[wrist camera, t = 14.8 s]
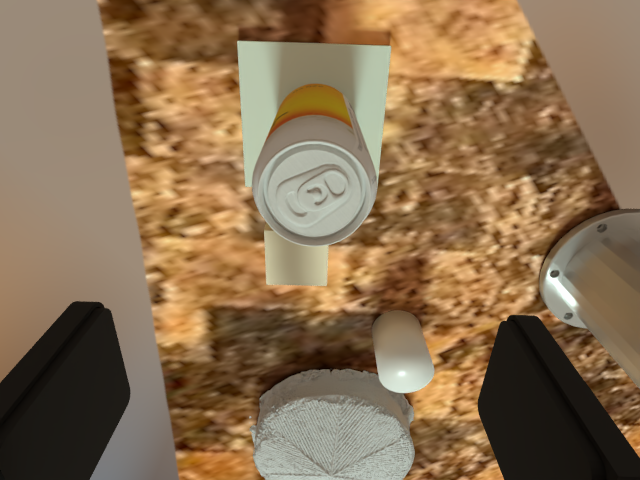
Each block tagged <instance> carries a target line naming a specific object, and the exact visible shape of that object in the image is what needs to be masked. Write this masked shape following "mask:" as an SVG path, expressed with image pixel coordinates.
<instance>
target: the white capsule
mask: <svg viewBox="0 0 640 480" xmlns="http://www.w3.org/2000/svg"><path fill="white" fill-rule="evenodd" d="M372 338H373V344H374V350H375V356H376V363H377V369H378V375H379V380H380V382H381V383H382V385H383V386H384V387H386V388H387V389H389V390H391V391H393V392H398V393H410V392H415V391H418V390H420V389H422V388H424V387H425V386H426V385H427V384H428V383H429V382H430V381H431V380H432V378H433V375H434V366H433V363H432V360H431V357H430V354H429V351H428V348H427V344H426V341H425V338H424V335H423V332H422V329H421V326H420V323H419V321H418V319H417V318H416V317H415V316H414V315H413V314H411V313H409V312H407V311H402V310H394V311H389V312H386V313H384V314H382V315H381V316H379V317H378V318H377V319H376V320H375V322H374V323H373V326H372Z"/></svg>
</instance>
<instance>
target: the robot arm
mask: <svg viewBox="0 0 640 480" xmlns="http://www.w3.org/2000/svg"><path fill="white" fill-rule="evenodd" d="M539 287H540V293H541V296H542V299H543V301H544V303H545V304H546V306H547V307H548V308H549V310H550V311H551V312H552V313H553V314H554V315H555V316H556V317H557V318H558V319H560V320H561V321H563V322H565V323H567V324H570V325H572V326H576V327H581V328H588V329H589V330H590V332H591V333H592V334H593V335H594V336H595V337H596V339H597V340H598V341H599V342H600V343H601V344H602V346H603V347H604V348H605V349H606V350H607V351H608V353H609V354H610V355H611V356H612V357H613V358H614V360H615V361H616V362H617V363H618V364H619V365H620V367H621V368H622V369H623V370H624V371H625V372H626V374H627V375H628V376H629V377H630V378H631V379H632V381H633V382H634V383H635V384H636V385H637V386H638V388H639V389H640V209H621V210H614V211H610V212H606V213H603V214H600V215H597V216H595V217H592V218H590V219H588V220H586V221H584V222H582V223H581V224H579V225H578V226H576V227H575V228H573V229H571V230H570V231H569V232H568V233H567V234H566V235H564V236H563V237H562V238H561V239H560V240H559V241H558V242H557V244H556V245H555V246H554V247H553V248H552V249H551V251H550V253H549V254H548V256H547V258H546V259H545V261H544V264H543V266H542V269H541V273H540V279H539ZM129 399H130V387H129V382H128V379H127V375H126V370H125V366H124V362H123V358H122V354H121V350H120V346H119V342H118V338H117V334H116V330H115V326H114V322H113V318H112V313H111V311H110V310H109V309H107V308H104V305H103V304H102V303H100V302H79V301H76V302H73V303H72V304H70V306H69V307H68V308H67V309H66V310H65V311H64V312H63V313H62V315H61V316H60V317H59V318H58V319H57V320H56V321H55V322H54V323H53V324H52V326H51V327H50V328H49V329H48V330H47V331H46V332H45V333H44V335H43V336H42V337H41V338H40V339H39V340H38V341H37V342H36V344H35V345H34V346H33V347H32V348H31V349H30V350H29V351H28V352H27V354H26V355H25V356H24V357H23V358H22V359H21V360H20V361H19V362H18V364H17V365H16V366H15V367H14V368H13V369H12V370H11V371H10V373H9V374H8V375H7V376H6V377H5V378H4V379H3V380H2V382H1V383H0V480H89V479H90V477H91V475H92V474H93V472H94V470H95V468H96V466H97V464H98V462H99V460H100V458H101V456H102V454H103V452H104V450H105V448H106V446H107V444H108V442H109V440H110V438H111V436H112V435H113V432H114V431H115V428H116V427H117V425H118V423H119V421H120V419H121V417H122V415H123V413H124V411H125V409H126V407H127V405H128V403H129ZM478 412H479V415H480V418H481V421H482V423H483V426H484V429H485V431H486V434H487V436H488V439H489V441H490V444H491V447H492V449H493V452H494V454H495V457H496V459H497V462H498V465H499V467H500V470H501V472H502V475H503V477H504V480H640V458H639V456H638V455H637V454H636V452H635V451H634V449H633V448H632V447H631V445H630V444H629V442H628V441H627V440H626V438H625V437H624V435H623V434H622V433H621V431H620V430H619V428H618V427H617V426H616V424H615V423H614V421H613V420H612V419H611V417H610V416H609V415H608V413H607V412H606V410H605V409H604V408H603V406H602V405H601V403H600V402H599V401H598V399H597V398H596V396H595V395H594V394H593V392H592V391H591V389H590V388H589V387H588V385H587V384H586V382H585V381H584V380H583V379H582V377H581V376H580V375H579V373H578V372H577V370H576V369H575V368H574V366H573V365H572V363H571V362H570V361H569V359H568V358H567V356H566V355H565V354H564V352H563V351H562V349H561V348H560V347H559V345H558V344H557V342H556V341H555V340H554V338H553V337H552V335H551V334H550V333H549V331H548V330H547V328H546V327H545V326H544V324H543V323H542V321H541V320H540V319H539V318H538V317H537V316H528V315H511V316H509V317H508V319H507V321H502V322H501V323H500V325H499V329H498V332H497V336H496V339H495V343H494V346H493V350H492V353H491V357H490V360H489V364H488V367H487V371H486V374H485V378H484V381H483V385H482V388H481V392H480V395H479V399H478Z"/></svg>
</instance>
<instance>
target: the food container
mask: <svg viewBox="0 0 640 480" xmlns="http://www.w3.org/2000/svg"><path fill="white" fill-rule="evenodd" d="M260 399H261V400H259V401H261V402H262V404H261V403H260V406H259V407H260V410H259V411H260V413H259V417H258V422H257V425H256V426H255V425H254V426H251V427H250V431H251V432H252V433H253V435H254V434H255V435H254V436H253V435H252V437H253V441H254V446H255V450H253V458H254V462H255V465H256V468H257V469H258V470H259V472H260V474H261V475H262V476H264V478H266V479H265V480H402V479H403V478H404V477H405V475H406V474H407V472H409V471H408V470H409V469H411V466H412V463H413V462H412V461H413V460H414V459H413V458H414V456H415V455H414V454H415V451H414V446H413V442H412V439H411V436H410V432H409V428H410V426H409V425H410V423H411V421H413V417H414V412H413V407H412V406H411V405H409V403H408V400H407V399H405V396H404V393H398V392H393V391H391V390H389V389H387V388H386V387H384V386H383V385H382V383H381V382H380V380H379V377H378V376H377V375H376V374H375V373H370V374H369V372H368V371H365V370H364V371H363V373H361V372H360V371H356V370H352V369H344V370H338V369H334V370H333V371H332V372H331V373H330V370H329V369H322V370H309V371H305V372H301V373H300V374H296V375H292V376H290V377H289V378H287V379H285V380H284V381H282V382H280V383H278V384H276V385H275V386H274V387H273V388H272V389H271V390H268V391H267V392H266V393H265V394H263V395H262V396H261V398H260ZM250 418H251V416H250ZM254 451H255V454H254Z"/></svg>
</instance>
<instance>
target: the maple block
mask: <svg viewBox="0 0 640 480" xmlns="http://www.w3.org/2000/svg"><path fill="white" fill-rule="evenodd" d="M264 238H265V262H266V285H308V286H327V268H328V245H326V246H316V247H313V246H303V245H299V244H296V243H293V242H290V241H288V240H286V239H285V238H283V237H281V236H280V235H279V234H277V233H276V232H275V231H274V230H273V229H272V228H271V227H270V226H269V225H268V223H267V222H266V226H265V229H264Z"/></svg>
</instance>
